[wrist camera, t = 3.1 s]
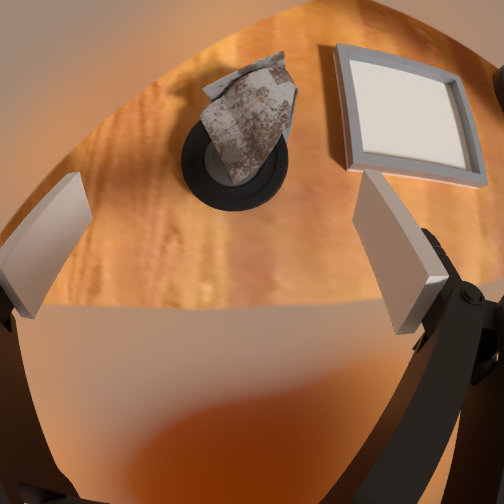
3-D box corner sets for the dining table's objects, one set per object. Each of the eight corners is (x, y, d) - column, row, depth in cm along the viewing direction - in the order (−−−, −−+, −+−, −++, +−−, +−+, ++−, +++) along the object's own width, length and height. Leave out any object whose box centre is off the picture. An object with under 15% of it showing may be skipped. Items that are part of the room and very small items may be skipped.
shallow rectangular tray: (451, 83, 26) (459, 75, 24) (477, 189, 25) (488, 184, 23) (332, 54, 26) (336, 43, 24) (346, 171, 25) (353, 163, 23)
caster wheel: (221, 225, 27) (176, 133, 26) (335, 170, 25) (283, 78, 24) (200, 233, 21) (145, 115, 20) (349, 160, 18) (280, 44, 18)
